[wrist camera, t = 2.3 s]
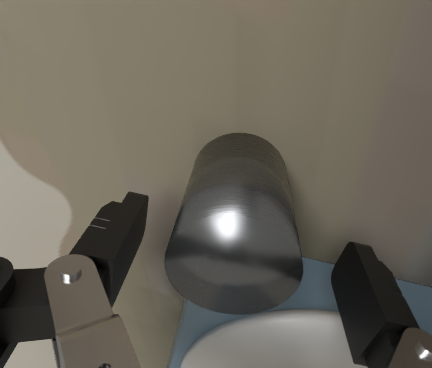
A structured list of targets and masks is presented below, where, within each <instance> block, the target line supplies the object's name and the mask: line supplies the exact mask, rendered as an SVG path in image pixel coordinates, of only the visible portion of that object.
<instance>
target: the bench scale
mask: <svg viewBox="0 0 432 368" xmlns="http://www.w3.org/2000/svg"><path fill="white" fill-rule="evenodd" d="M302 260H303V276H302V280H301V283H300V285H299V287H298V288H297V290H296V291H295V293H294V294H293V295H292V296H291V297H290V298H289V299H287V300H286V301H285V302H283V303H282V304H280V305H278V306H276V307H274V308H272V309H270V310H267V311H263V312H260V313H254V314H246V315H232V314H223V313H218V312H214V311H210V310H207V309H205V308H202V307H200V306H198V305H196V304H194V303H192V302H191V301H189V300H187V299H186V298H185V301H184V305H183V308H182V312H181V316H180V320H179V324H178V327H177V331H176V335H175V339H174V343H173V346H172V350H171V354H170V358H169V361H168V365H167V368H368V367H367V366H362V365H357V364H354V363H353V360H352V356H351V353H350V349H349V345H348V342H347V338H346V335H345V331H344V328H343V324H342V321H341V317H340V313H339V310H338V306H337V303H336V299H335V296H334V292H333V288H332V285H331V274H332V270H333V268H334V266H335V264H330V263H326V262H322V261H318V260H313V259H309V258H305V257H302ZM395 280H396V282H397V284H398V285H397V286H399V288H400V290H401V292H402V296H404V298H405V300H406V302H407V304H408V306H409V307H410V309H411V311H412V313H413V315H414V317H415V319H416V321H417V323H418V325H419V327H420V329H421V330H424V331H426V332H428V333H429V334H431V335H432V287H428V286H424V285H419V284H415V283H411V282H407V281H402V280H398V279H395Z"/></svg>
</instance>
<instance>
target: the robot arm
mask: <svg viewBox="0 0 432 368" xmlns="http://www.w3.org/2000/svg"><path fill="white" fill-rule="evenodd" d="M148 199H149V198H148V196H147V195H143V194H138V193H134V192H128V194H127V195H126V197H125V198H124V200H123V202H122V203H119V202H114V201H112V202H110V203H108V204H107V205H105V206H103V207H102V208H101V209H100V211H99V212H98V213H97V215H96V216H95V219H93V221H92V222H91V223H90V226H88V228H87V229H86V231H85V232H84V233H83V235H82V236H81V238H80V239H79V241H78V242H77V243H76V245H75V246H74V248H73V249H72V251H71V252H70V253H69V255H65V256H62V257H60V258H57V259H56V260H54V261H53V262H51V263H50V264H49V265H48V267H45V268H37V269H13V265H12V263H11V262H10V261H9V260H7V259H5V258H3V257H0V368H3V367H4V366H5V364H6V362H7V360H8V359H9V357H10V355H11V354H12V352H13V350H14V348H15V347H16V345H17V344H18V342H25V341H35V340H44V339H52V345H53V350H54V355H55V360H56V365H57V368H141V367H140V364H139V362H138V359H137V357H136V354H135V352H134V349H133V346H132V344H131V341H130V339H129V336H128V334H127V331H126V329H125V326H124V323H123V321H122V319H121V317H120V316H119V315H118V314H116V315H114V313H113V311H112V307H113V305H114V302H115V300H116V298H117V295H118V293H119V291H120V289H121V286H122V284H123V282H124V280H125V277H126V275H127V273H128V271H129V268H130V266H131V264H132V262H133V259H134V257H135V255H136V253H137V250H138V248H139V246H140V244H141V241H142V238H143V235H144V231H145V226H146V217H147V208H148ZM331 285H332V288H333V292H334V296H335V299H336V303H337V306H338V310H339V313H340V317H341V321H342V324H343V328H344V331H345V335H346V338H347V342H348V345H349V349H350V353H351V356H352V360H353V363H354V364H357V365H362V366H367V367H368V368H432V335H431V334H429V333H428V332H426V331H424V330H421V329H420V327H419V325H418V323H417V321H416V319H415V317H414V315H413V313H412V311H411V309H410V307H409V306H408V304H407V302H406V300H405V298H404V296H402V292H401V290H400V288H399V286H397V285H398V284H397V282H396V280H395V278H394V276H393V274H392V272H391V271H390V270H389V269H388V268H387V267H386V266H385V265H384V264H383V263H382V262H381V261H378V259H377V257H376V255H375V253H374V251H373V249H372V247H371V246H368V245H364V244H359V243H355V242H349V243H348V244H347V245H346V246H345V248H344V250H343V252H342V254H341V255H340V257H339V259H338V261H337V262H336V264H335V266H334V268H333V270H332V274H331Z"/></svg>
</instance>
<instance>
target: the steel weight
mask: <svg viewBox="0 0 432 368" xmlns="http://www.w3.org/2000/svg"><path fill="white" fill-rule="evenodd" d="M164 262H165V270H166V273H167V276H168V278H169V280H170V282H171V283H172V285H173V286H174V288H175V289H176V290H177V291H178V292H179V293H180V294H181V295H182V296H183V297H185V298H186V299H187V300H189V301H191V302H192V303H194V304H196V305H198V306H200V307H202V308H205V309H207V310H210V311H214V312H218V313H223V314H232V315H246V314H254V313H260V312H263V311H267V310H270V309H272V308H274V307H276V306H278V305H280V304H282V303H283V302H285V301H286V300H287V299H289V298H290V297H291V296H292V295H293V294H294V293H295V291H296V290H297V288H298V287H299V285H300V283H301V280H302V276H303V260H302V255H301V249H300V244H299V238H298V233H297V228H296V222H295V217H294V211H293V206H292V200H291V195H290V189H289V184H288V178H287V173H286V167H285V163H284V160H283V158H282V156H281V155H280V153H279V152H278V150H277V149H276V148H275V147H274V146H273V145H272V144H271V143H269V142H268V141H266V140H265V139H263V138H261V137H258V136H255V135H252V134H247V133H231V134H226V135H223V136H220V137H218V138H216V139H214V140H212V141H211V142H209V143H208V144H207V145H206V146H205V147H204V148H203V149H202V150H201V151H200V153H199V154H198V156H197V158H196V161H195V164H194V167H193V170H192V173H191V176H190V179H189V182H188V185H187V188H186V191H185V195H184V198H183V201H182V204H181V207H180V210H179V213H178V216H177V219H176V222H175V225H174V228H173V231H172V235H171V238H170V241H169V244H168V247H167V250H166V254H165V261H164Z"/></svg>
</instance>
